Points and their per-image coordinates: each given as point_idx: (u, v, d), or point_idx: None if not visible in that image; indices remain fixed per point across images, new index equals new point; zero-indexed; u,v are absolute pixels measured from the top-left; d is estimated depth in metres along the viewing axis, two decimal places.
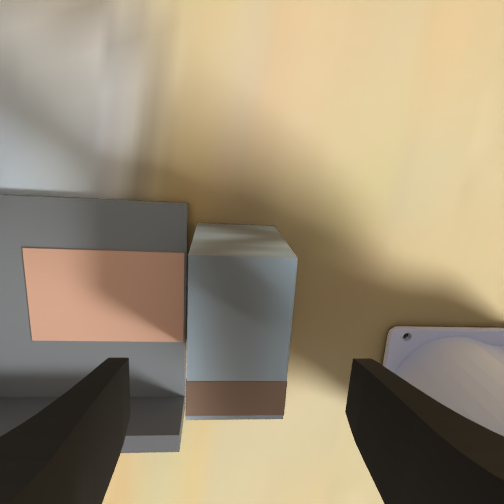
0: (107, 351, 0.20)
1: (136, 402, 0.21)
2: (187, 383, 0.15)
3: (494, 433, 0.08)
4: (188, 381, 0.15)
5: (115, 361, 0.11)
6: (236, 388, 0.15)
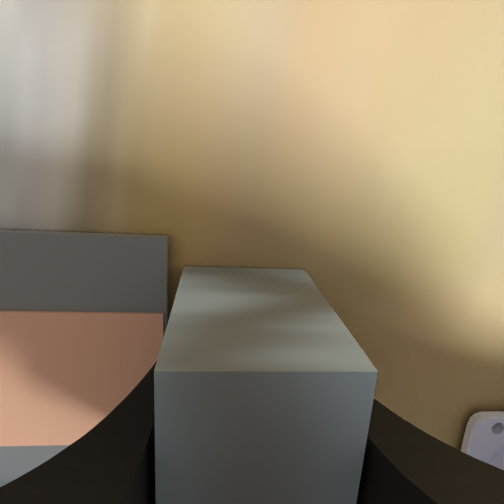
0: (47, 459, 0.13)
1: None
2: None
3: (425, 434, 0.08)
4: None
5: None
6: None
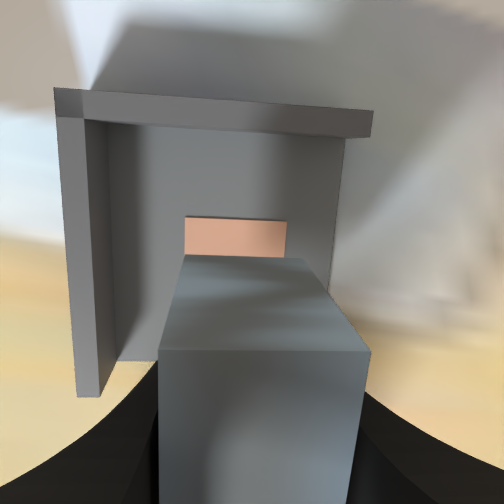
0: (171, 289, 0.19)
1: (112, 321, 0.19)
2: None
3: (425, 434, 0.08)
4: None
5: None
6: None
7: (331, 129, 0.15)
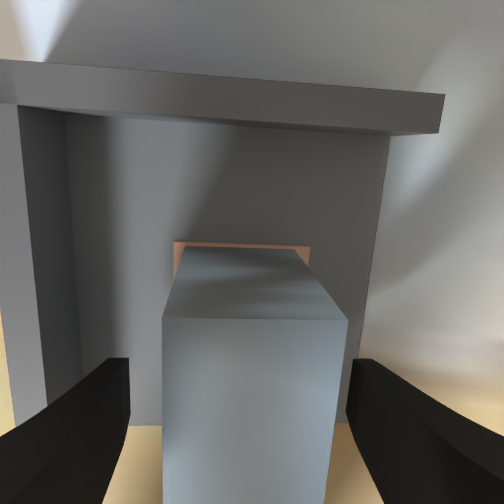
0: (156, 335, 0.14)
1: (77, 378, 0.14)
2: None
3: (493, 433, 0.08)
4: None
5: (115, 361, 0.11)
6: None
7: (383, 121, 0.10)
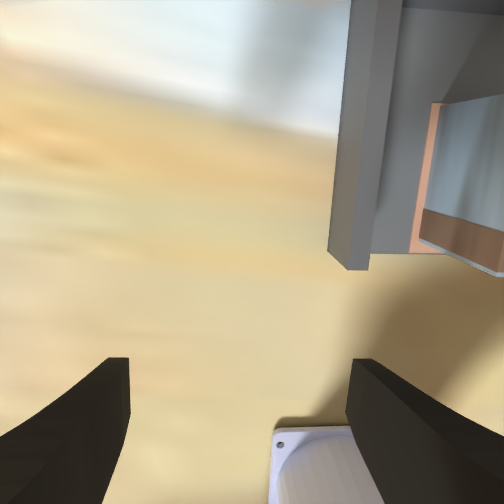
0: (407, 178, 0.20)
1: None
2: None
3: (494, 433, 0.08)
4: None
5: (115, 361, 0.11)
6: None
7: None
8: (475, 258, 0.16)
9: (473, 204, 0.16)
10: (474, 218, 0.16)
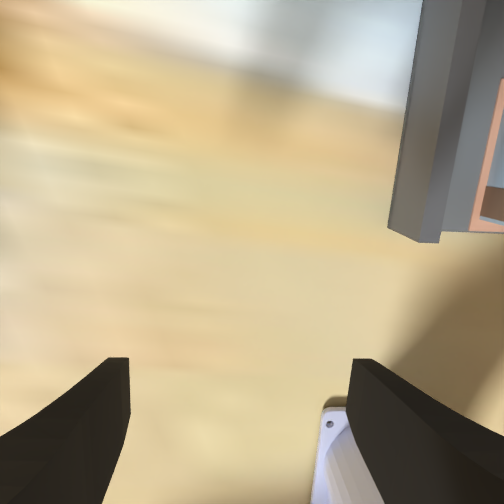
0: (472, 155, 0.20)
1: None
2: None
3: (494, 433, 0.08)
4: None
5: (115, 361, 0.11)
6: None
7: None
8: None
9: None
10: None
